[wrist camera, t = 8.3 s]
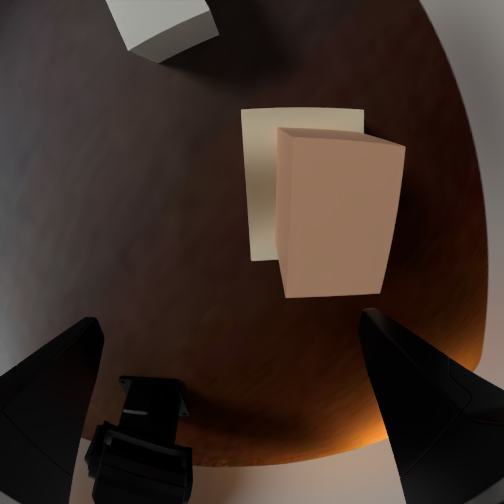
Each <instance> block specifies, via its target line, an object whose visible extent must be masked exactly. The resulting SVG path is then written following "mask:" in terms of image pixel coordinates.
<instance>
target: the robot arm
mask: <svg viewBox="0 0 504 504" xmlns="http://www.w3.org/2000/svg"><path fill="white" fill-rule="evenodd" d="M358 333H359V338H360V342H361V346H362V351H363V355H364V360H365V364H366V368H367V372H368V376H369V379H370V382H371V384H372V387H373V390H374V393H375V396H376V399H377V402H378V405H379V409H380V412H381V415H382V418H383V421H384V424H385V428H386V431H387V434H388V437H389V441H390V444H391V447H392V451H393V454H394V458H395V462H396V465H397V468H398V472H399V476H400V477H401V478H400V481H401V484H402V488H403V492H404V496H405V500H406V504H504V390H503V389H501V388H499V387H497V386H495V385H494V384H492V383H490V382H488V381H487V380H485V379H483V378H481V377H479V376H478V375H476V374H474V373H473V372H471V371H469V370H468V369H466V368H465V367H463V366H462V365H460V364H458V363H457V362H456V361H454V360H453V359H451V358H449V357H448V356H447V355H445V354H444V353H442V352H441V351H439V350H438V349H436V348H435V347H433V346H432V345H430V344H429V343H427V342H426V341H424V340H423V339H421V338H420V337H418V336H417V335H415V334H414V333H412V332H411V331H409V330H408V329H406V328H405V327H403V326H402V325H400V324H399V323H397V322H396V321H394V320H393V319H391V318H390V317H388V316H387V315H385V314H384V313H382V312H381V311H379V310H378V309H376V308H367V309H364V310H363V311H362V315H361V319H360V324H359V328H358ZM103 345H104V334H103V332H102V330H101V327H100V325H99V322H98V320H97V319H96V318H95V317H85V318H83V319H82V320H80V321H79V322H77V323H76V324H74V325H73V326H71V327H70V328H68V329H67V330H66V331H64V332H63V333H61V334H60V335H58V336H57V337H55V338H54V339H53V340H51V341H50V342H48V343H47V344H45V345H44V346H42V347H41V348H40V349H38V350H37V351H35V352H34V353H33V354H31V355H30V356H28V357H27V358H26V359H24V360H23V361H21V362H20V363H19V364H17V366H14V367H13V368H12V369H10V370H9V371H7V372H6V373H5V374H3V375H2V376H0V504H69V497H70V491H71V485H72V479H73V477H72V476H73V473H74V467H75V462H76V457H77V453H78V448H79V443H80V439H81V435H82V430H83V426H84V422H85V418H86V414H87V411H88V407H89V403H90V400H91V396H92V392H93V389H94V386H95V382H96V378H97V374H98V369H99V364H100V359H101V354H102V349H103ZM118 381H119V383H120V385H121V386H122V388H123V390H124V392H125V393H126V395H127V396H126V400H125V403H124V406H123V411H122V414H121V418H120V421H119V425H118V426H115V425H113V424H110V422H107V421H104V424H103V425H97V427H96V431H95V434H94V437H93V439H92V442H91V444H90V446H89V449H88V451H87V453H86V455H85V459H84V460H85V462H86V463H87V465H88V470H89V475H88V477H89V478H92V479H94V480H95V482H94V487H93V492H92V498H93V500H94V503H95V504H187V503H188V501H189V498H190V495H191V491H192V484H193V474H192V473H193V470H192V448H190V447H183V446H179V445H175V438H176V432H177V425H178V419H179V416H189V413H190V411H189V409H188V406H187V404H186V401H185V399H184V396H183V393H182V391H181V388H180V385H179V383H178V381H176V380H172V379H152V378H138V377H126V376H120V378H119V380H118ZM108 444H109V445H108Z"/></svg>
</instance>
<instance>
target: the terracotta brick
mask: <svg viewBox="0 0 504 504" xmlns="http://www.w3.org/2000/svg"><path fill="white" fill-rule="evenodd" d="M404 156H405V146H402V145H399V144H396V143H393V142H390V141H387V140H383V139H380V138H377V137H374V136H370V135H367V134H363V133H360V132H354V131H343V130H330V129H313V128H289V127H277V183H276V231H275V244H276V249H277V254H278V259H279V264H280V270H281V275H282V280H283V286H284V291H285V296H286V298H294V297H321V296H342V295H360V294H377V293H380V291H381V287H382V283H383V279H384V275H385V270H386V266H387V261H388V257H389V252H390V247H391V243H392V237H393V232H394V227H395V221H396V215H397V209H398V203H399V196H400V189H401V182H402V174H403V165H404Z"/></svg>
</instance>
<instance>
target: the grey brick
mask: <svg viewBox="0 0 504 504" xmlns="http://www.w3.org/2000/svg"><path fill="white" fill-rule="evenodd" d="M106 2H107V4H108V6H109V9H110V11H111V13H112V15H113V18H114V20H115V22H116V24H117V27H118V29H119V31H120V33H121V36H122V38H123V40H124V42H125V45H126V47H127V49H128V51H130V52H133V53H135V54H137V55H140V56H142V57H144V58H147V59H149V60H151V61H154V62H156V63H160V62H162V61H164V60H166V59H168V58H170V57H172V56H174V55H176V54H178V53H180V52H182V51H184V50H186V49H188V48H190V47H192V46H195V45H197V44H199V43H201V42H204V41H206V40H208V39H211V38H213V37H215V36H218V35H219V33H218V30H217V27H216V25H215V22H214V19H213V17H212V14H211V12H210V9H209V7H208V6H207V4H206V2H205V0H106Z"/></svg>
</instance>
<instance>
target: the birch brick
mask: <svg viewBox="0 0 504 504" xmlns="http://www.w3.org/2000/svg"><path fill="white" fill-rule="evenodd" d="M241 117H242V132H243V147H244V161H245V176H246V191H247V205H248V220H249V234H250V248H251V261H260V260H276V259H278V254H277V249H276V244H275V231H276V183H277V127H289V128H313V129H330V130H343V131H354V132H360V133H363V134H364V110H358V109H340V108H262V109H244V110H241Z"/></svg>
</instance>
